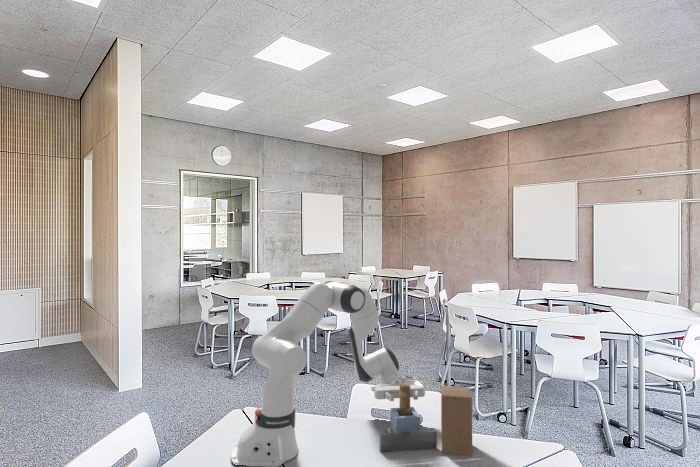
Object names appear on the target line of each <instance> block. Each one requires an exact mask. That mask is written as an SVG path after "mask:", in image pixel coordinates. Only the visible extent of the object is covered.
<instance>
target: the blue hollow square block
mask: <svg viewBox="0 0 700 467" xmlns="http://www.w3.org/2000/svg"><path fill="white" fill-rule="evenodd" d="M389 416H390V423H389V424H390V427H389V428H390V430H391V432H392V433H397V432H412V431H420V430H421V416H420V415H419V413H418V412H417V410H416V409H415V407H414V406H410V415H408V416H400V407H391V408H390V415H389Z"/></svg>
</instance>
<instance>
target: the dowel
mask: <svg viewBox="0 0 700 467" xmlns="http://www.w3.org/2000/svg"><path fill="white" fill-rule="evenodd" d="M410 407H411V397H410V385H409V384H400V398H399V408H400V416H408V415H410Z"/></svg>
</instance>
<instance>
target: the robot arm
mask: <svg viewBox="0 0 700 467" xmlns="http://www.w3.org/2000/svg"><path fill="white" fill-rule="evenodd" d="M328 309H331V310H334V311H336V312H341V313H347V314H350V317H351V326H350V327H349V330H348V337H349V343H350V349H351V356H352V359H353V365H354V366H353V369H354V370H353V371H354V374H355V375H356V377H357V379H358V380H359V381H360V382H363V383H369V382H370V381H372V380H374V379H375V378H377V377H378V378H379V382H380V383H378V384H375V385H374V386H372V387H371V391H372V392H374V393H373V394H374V398H375V399H376V400H388V401H390V402H394V399H400V384H409V385H410V398H412V399H413V400H414V401H415V400H416V401H417V400H418V399H419V398H424V397H425V396H426V388H425V386H424V385H423V384H422V383H421V382H420V381H418V380H417V378H416V377H415V376H408V375H403V374H400V372H399V370H400V364H399V361H398V359H397V356H396V355H395V353H394V352H393V351H392V350H391V348H387V347H382V348H380V349H378V350H375V351H373V352H372V353H369V354H368V355H365V356H363V350H362V343H363V342H364V340H365V339H366V337H367V336H369V335H370V334H371V333H372V332H374V330H375V329H376V327H377V326H378V323H379V321H380V315H379V311H378V308H377V305H376V303H375V300H374V299H373V296H372V295H371V293H370V292H369V290H368V288H366V287H365V286H362V285H354V284H348V283H345V282H340V281H331V280H330V281H329V280H327V281H324V282H322V281H321V282H320V281H317V282H314V283H312V284H311V285H310V286H309V287H308V288H307V289H306V290H305V291H304V292H303V294H301V296H300V297H299V298H298V299H297V301H296V302H295V303H294V305H293V306H292V308H291V309H290V310H289V312H288V313H287V314H286V315H285V317H283V319H282V320H280V322H279V323H277V324H276V325H274V327H273V328H272V329H270V330H269V331H267V332H266V333H265V334H263V335H262V334H261V335H260V336H258V337H257V338H256V339H255V340H254V342H253V344H252V346H251V354H252V357H253V358H254V359H255V360H256V362H257V363H258V364H259V365H261V366H263V367H265V368H267V370H268V377H267V381H266V383H265V384H264V385H262V388H261V402H260V403H261V408H259V407H257V408H256V409H255V412H254V415H255V416H254V422H253V423H252V424H251V425H249V427H248V428H246V429H244V430H243V432H242V433H241V435H240V437H239V439H238V443H237V444H236V445H235V446H234V447H233V448H232V451H231V453H230V454H231V455H230V462H231V461H232V462H233V463H234V464H237V465H244V466H243V467H280V466H282V464H284V463H285V462H289V461H290V460H291V459H293V458H295V457H296V456H297V455H298V453H299V447H298V442H297V438H296V430H295V427H296V409H295V406H294V405H295V387H296V382H297V378H298V376H299V374H300V373H301V372H303V370H304V369H305V367H306V365H307V361H308V360H307V353H306V351H305V350H304V349H303V348H302V347H301V346H300V345H299V344H298V343H299V342H301V340H303V339H306V338H308V337H309V336H311V335H312V333H313V332H314V331H315V329H316V328H317V326H318V325H319V323H320V322H321V320H322V319H323V317H324V315H325V314H326V312H327V311H328ZM232 462H231V463H232ZM245 465H246V466H245Z"/></svg>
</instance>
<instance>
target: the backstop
mask: <svg viewBox="0 0 700 467" xmlns="http://www.w3.org/2000/svg"><path fill="white" fill-rule="evenodd" d="M385 430H386V432H383V433H379V452H380V453H382V454H383V453H392V452H407V451H409V452H410V451H419V450H420V451H421V450H422V451H423V450H434V449H437V446H438V445H437V443H438V442H437V439H438V438H437V437H438V436H437V432H438V431H436V430H435V429H431V430H430V429H428V430H421V429H420V431H412V432H397V433H392V431H391V429H390V427H387V428H386V429H385Z"/></svg>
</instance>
